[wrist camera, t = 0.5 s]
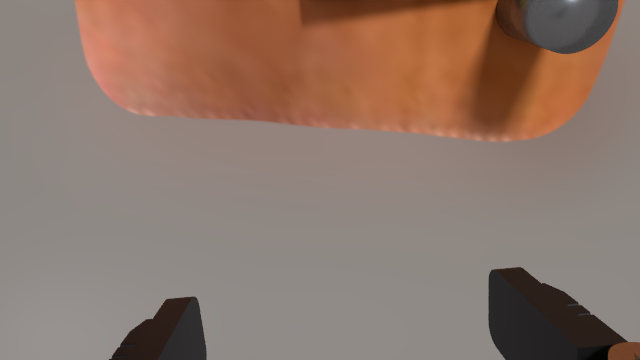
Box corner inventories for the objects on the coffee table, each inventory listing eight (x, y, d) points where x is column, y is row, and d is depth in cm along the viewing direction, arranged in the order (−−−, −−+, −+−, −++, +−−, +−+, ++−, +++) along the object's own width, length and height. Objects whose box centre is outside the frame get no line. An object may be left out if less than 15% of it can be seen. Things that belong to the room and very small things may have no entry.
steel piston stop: (488, -10, 33) (525, -7, 26) (552, -41, 32) (610, -47, 25) (505, 48, 35) (544, 66, 28) (566, 21, 34) (624, 32, 26)
